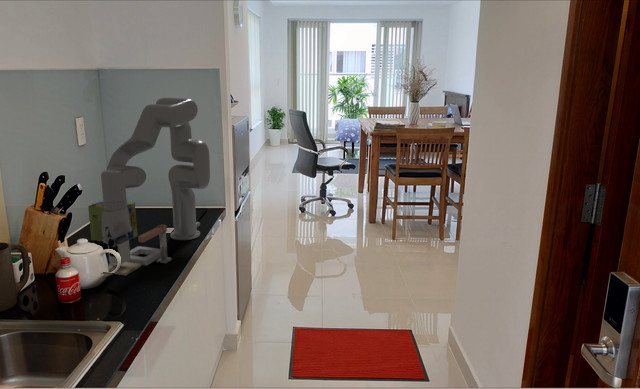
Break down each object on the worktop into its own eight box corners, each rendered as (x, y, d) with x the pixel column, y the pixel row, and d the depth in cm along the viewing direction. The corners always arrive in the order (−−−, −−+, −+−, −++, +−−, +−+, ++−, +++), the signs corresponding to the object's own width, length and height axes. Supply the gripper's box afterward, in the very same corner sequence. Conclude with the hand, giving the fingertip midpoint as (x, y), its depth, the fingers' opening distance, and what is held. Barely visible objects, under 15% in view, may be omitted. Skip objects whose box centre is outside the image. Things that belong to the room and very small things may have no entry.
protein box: (125, 244, 197) (122, 208, 193) (90, 241, 199) (87, 206, 196) (138, 236, 207) (135, 201, 203) (105, 233, 209) (102, 199, 206)
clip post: (162, 258, 183) (160, 229, 180) (171, 259, 182) (170, 230, 179) (156, 262, 180) (154, 232, 177) (165, 263, 179) (164, 233, 176)
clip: (137, 241, 166) (136, 236, 166) (161, 229, 180) (160, 224, 179) (145, 242, 165) (144, 237, 165) (168, 230, 179) (168, 224, 179)
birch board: (115, 262, 178) (115, 259, 178) (141, 266, 176) (141, 263, 175) (99, 271, 170) (98, 269, 170) (125, 275, 167) (125, 272, 167)
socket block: (138, 250, 190) (138, 246, 190) (165, 254, 187) (164, 249, 187) (118, 261, 179) (118, 256, 179) (146, 265, 176) (146, 260, 176)
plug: (118, 257, 175) (116, 229, 172) (130, 259, 174) (128, 230, 171) (109, 262, 170) (106, 233, 168) (121, 264, 169) (119, 234, 166)
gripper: (121, 198, 176) (125, 244, 180) (88, 210, 160) (93, 260, 164) (139, 200, 174) (142, 247, 178) (107, 212, 158) (112, 263, 162)
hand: (119, 253), depth 171 cm, fingers closed on plug, 5 cm apart
